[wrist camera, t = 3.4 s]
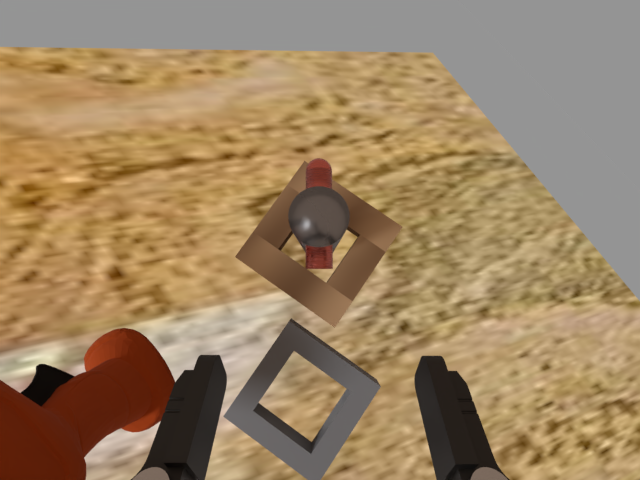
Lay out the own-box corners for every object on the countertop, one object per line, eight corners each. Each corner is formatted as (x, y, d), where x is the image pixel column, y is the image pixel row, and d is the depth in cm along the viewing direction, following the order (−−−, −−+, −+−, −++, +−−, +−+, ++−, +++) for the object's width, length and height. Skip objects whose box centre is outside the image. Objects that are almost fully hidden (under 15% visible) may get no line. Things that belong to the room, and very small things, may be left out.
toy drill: (35, 201, 24) (-377, 134, 9) (195, 389, 25) (50, 602, 10) (-19, 242, 24) (-538, 238, 9) (145, 431, 25) (-82, 716, 10)
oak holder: (240, 258, 25) (234, 256, 24) (305, 167, 26) (304, 160, 25) (333, 324, 25) (334, 327, 23) (397, 229, 26) (402, 226, 24)
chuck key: (335, 271, 25) (350, 268, 13) (302, 271, 25) (287, 268, 13) (335, 209, 26) (348, 152, 14) (303, 209, 26) (288, 152, 14)
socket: (229, 407, 24) (223, 416, 22) (291, 318, 25) (289, 321, 23) (316, 472, 24) (316, 486, 22) (376, 379, 24) (380, 386, 23)
